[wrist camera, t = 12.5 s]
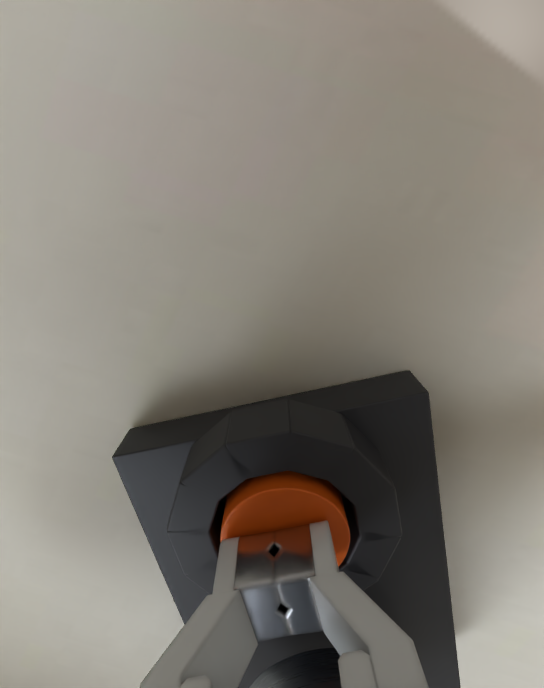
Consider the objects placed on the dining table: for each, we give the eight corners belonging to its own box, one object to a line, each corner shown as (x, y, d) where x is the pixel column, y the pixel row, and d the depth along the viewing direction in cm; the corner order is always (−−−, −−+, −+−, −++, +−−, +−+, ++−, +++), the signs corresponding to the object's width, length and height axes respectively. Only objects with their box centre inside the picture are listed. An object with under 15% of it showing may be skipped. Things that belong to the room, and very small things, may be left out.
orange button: (213, 462, 12) (204, 502, 10) (328, 439, 12) (338, 476, 10) (242, 549, 13) (238, 599, 11) (348, 530, 13) (359, 578, 11)
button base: (122, 410, 13) (73, 474, 10) (406, 349, 13) (454, 397, 9) (231, 679, 18) (222, 784, 15) (443, 646, 17) (484, 747, 14)
